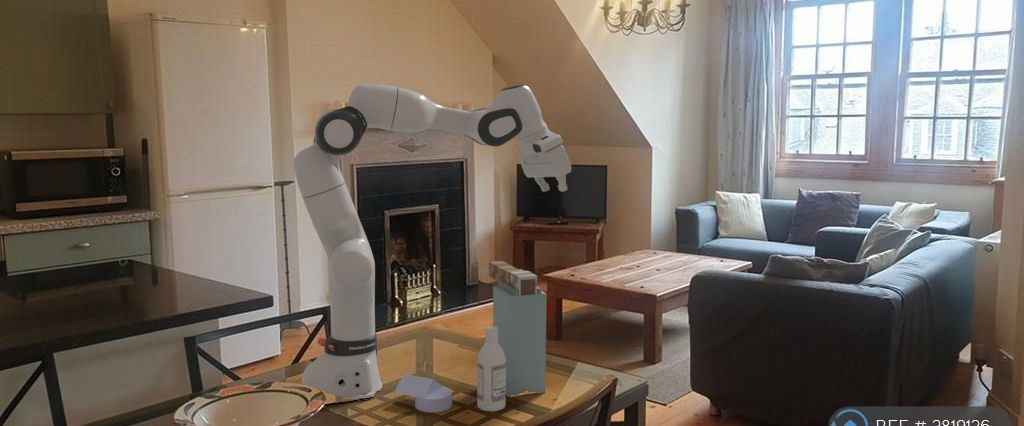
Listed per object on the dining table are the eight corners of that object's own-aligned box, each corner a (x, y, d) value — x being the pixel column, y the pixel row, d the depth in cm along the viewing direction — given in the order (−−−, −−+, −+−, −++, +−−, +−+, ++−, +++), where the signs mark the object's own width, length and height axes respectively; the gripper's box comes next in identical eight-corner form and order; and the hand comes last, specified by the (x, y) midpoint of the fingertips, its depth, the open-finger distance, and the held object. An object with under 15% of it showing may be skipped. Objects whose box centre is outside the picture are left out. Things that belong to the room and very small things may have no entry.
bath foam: (509, 403, 194) (509, 324, 191) (500, 413, 187) (501, 332, 184) (482, 400, 196) (482, 322, 193) (473, 410, 189) (473, 330, 186)
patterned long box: (487, 275, 217) (487, 258, 216) (503, 274, 219) (504, 257, 218) (519, 295, 195) (519, 277, 194) (536, 294, 197) (537, 275, 196)
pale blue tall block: (492, 381, 209) (493, 280, 205) (527, 377, 212) (528, 278, 208) (508, 397, 198) (509, 291, 194) (545, 392, 201) (546, 288, 197)
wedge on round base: (394, 405, 192) (440, 415, 186) (393, 379, 191) (440, 387, 186) (413, 393, 200) (458, 402, 195) (413, 368, 199) (458, 376, 194)
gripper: (508, 149, 214) (527, 195, 217) (544, 145, 196) (565, 196, 199) (526, 140, 216) (545, 185, 219) (564, 135, 198) (584, 185, 201)
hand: (555, 190), depth 209 cm, fingers open, 8 cm apart
